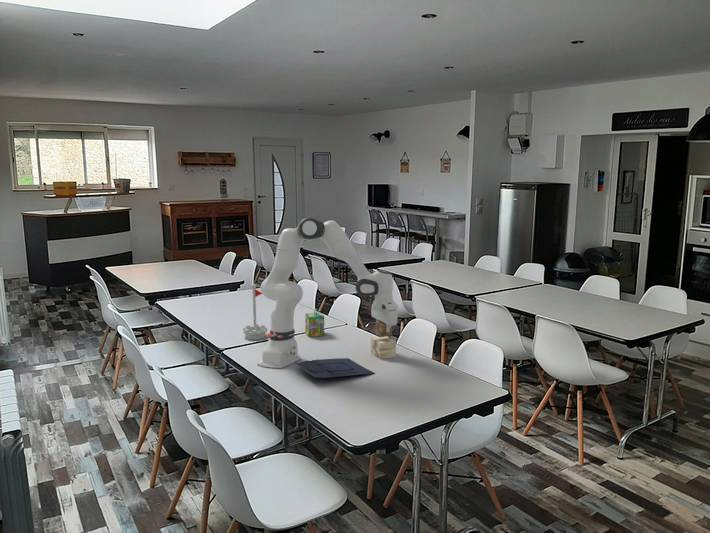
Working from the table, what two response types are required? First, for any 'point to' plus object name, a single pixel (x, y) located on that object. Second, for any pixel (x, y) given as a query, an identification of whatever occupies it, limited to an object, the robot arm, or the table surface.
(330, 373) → the folded navy cloth
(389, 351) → the beech block
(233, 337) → the table surface
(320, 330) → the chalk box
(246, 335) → the flag stand
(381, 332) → the walnut cube
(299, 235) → the robot arm
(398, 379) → the table surface
